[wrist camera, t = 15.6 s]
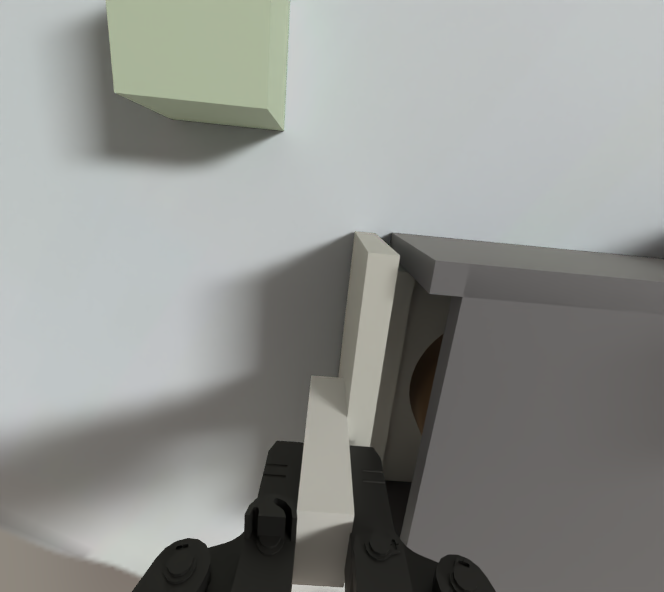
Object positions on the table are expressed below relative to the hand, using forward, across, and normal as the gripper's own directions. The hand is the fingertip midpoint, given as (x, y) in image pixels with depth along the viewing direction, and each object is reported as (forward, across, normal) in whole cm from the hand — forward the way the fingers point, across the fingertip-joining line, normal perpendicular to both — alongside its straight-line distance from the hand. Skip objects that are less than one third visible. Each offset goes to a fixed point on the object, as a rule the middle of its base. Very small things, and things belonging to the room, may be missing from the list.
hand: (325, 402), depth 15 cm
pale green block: (+3, -5, +14) cm, 15 cm away
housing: (+3, +11, 0) cm, 11 cm away
